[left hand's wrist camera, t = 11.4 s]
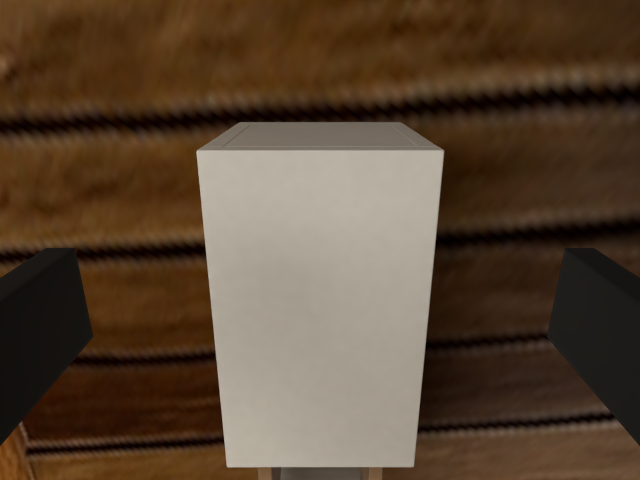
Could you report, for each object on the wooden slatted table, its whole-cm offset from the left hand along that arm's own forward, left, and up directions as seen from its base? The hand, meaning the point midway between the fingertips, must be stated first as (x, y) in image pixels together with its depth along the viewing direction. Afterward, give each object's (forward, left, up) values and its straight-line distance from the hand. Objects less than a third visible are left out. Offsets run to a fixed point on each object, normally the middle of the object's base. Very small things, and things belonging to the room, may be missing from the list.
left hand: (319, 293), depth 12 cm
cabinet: (+1, +6, -17) cm, 18 cm away
